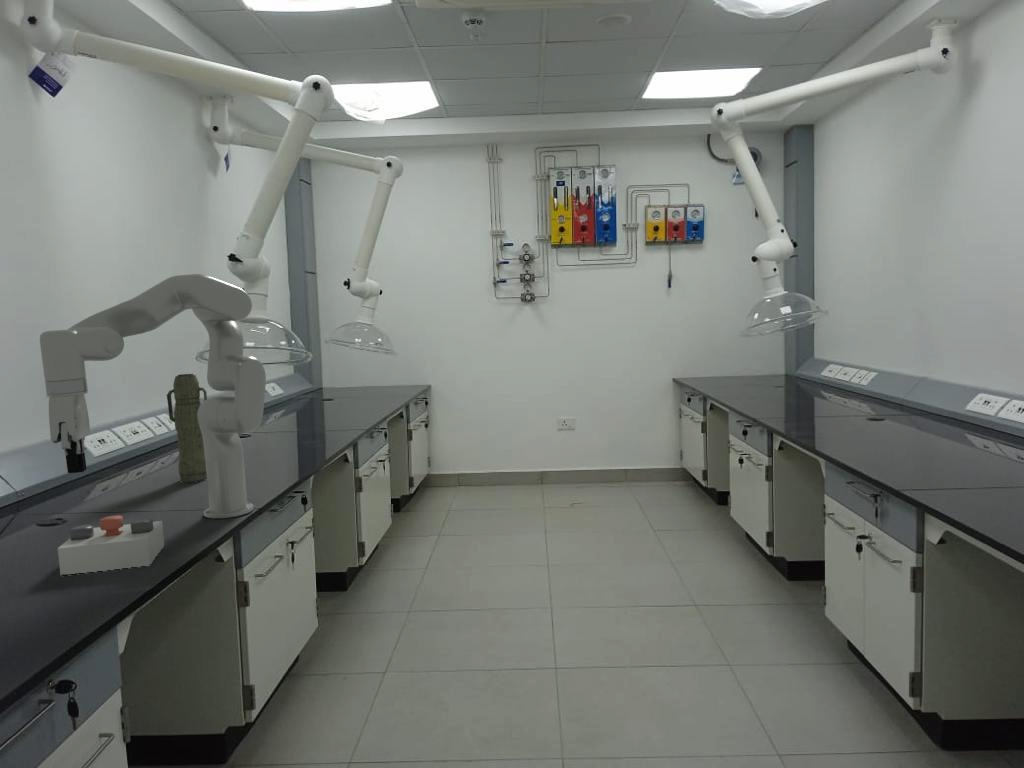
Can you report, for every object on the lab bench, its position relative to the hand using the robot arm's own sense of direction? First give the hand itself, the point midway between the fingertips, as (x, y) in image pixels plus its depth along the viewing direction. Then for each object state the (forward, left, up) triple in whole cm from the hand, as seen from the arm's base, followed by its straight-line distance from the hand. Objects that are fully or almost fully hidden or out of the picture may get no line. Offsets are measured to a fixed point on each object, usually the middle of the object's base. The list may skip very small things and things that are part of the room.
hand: (77, 471), depth 154 cm
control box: (0, +6, -21) cm, 21 cm away
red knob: (0, +6, -17) cm, 17 cm away
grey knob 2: (0, +12, -18) cm, 21 cm away
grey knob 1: (0, 0, -18) cm, 18 cm away
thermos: (-80, +8, -21) cm, 83 cm away
